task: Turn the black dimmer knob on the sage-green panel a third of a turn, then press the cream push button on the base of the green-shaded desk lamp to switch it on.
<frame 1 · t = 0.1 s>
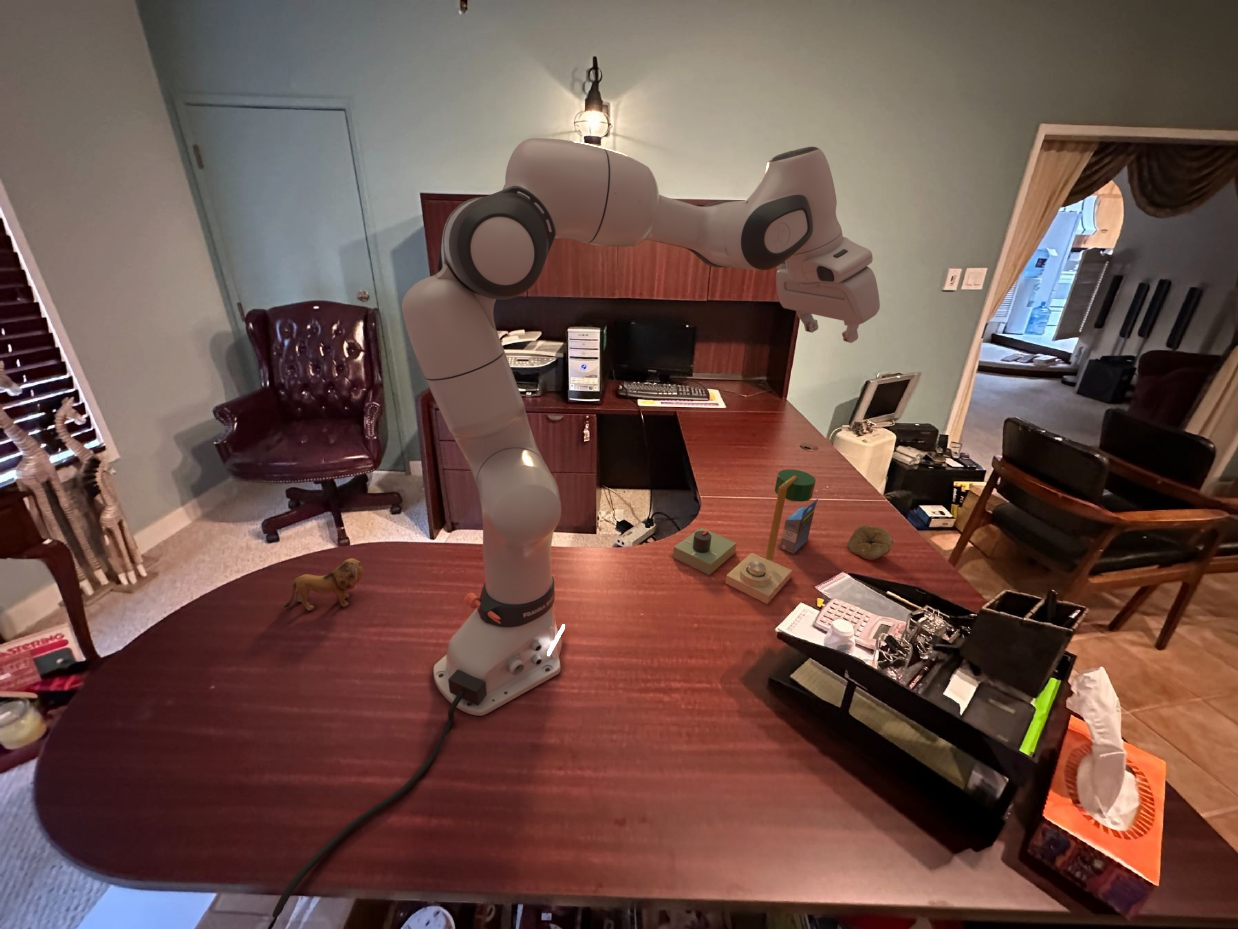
hand: (830, 335, 86), 54 cm above the table, tool tilted 30°, fingers open, 8 cm apart
lamp button: (756, 569, 106), point 4 cm above the table, slide at 0.1 cm
dimmer knob: (702, 541, 115), point 5 cm above the table, hinge at 0.0°
lamp: (785, 514, 111), point 13 cm above the table
blue box: (793, 545, 124), on the table
lamp base: (758, 580, 110), on the table
dimmer panel: (704, 555, 118), on the table
fossil: (866, 554, 122), on the table
lion figurine: (331, 601, 98), on the table
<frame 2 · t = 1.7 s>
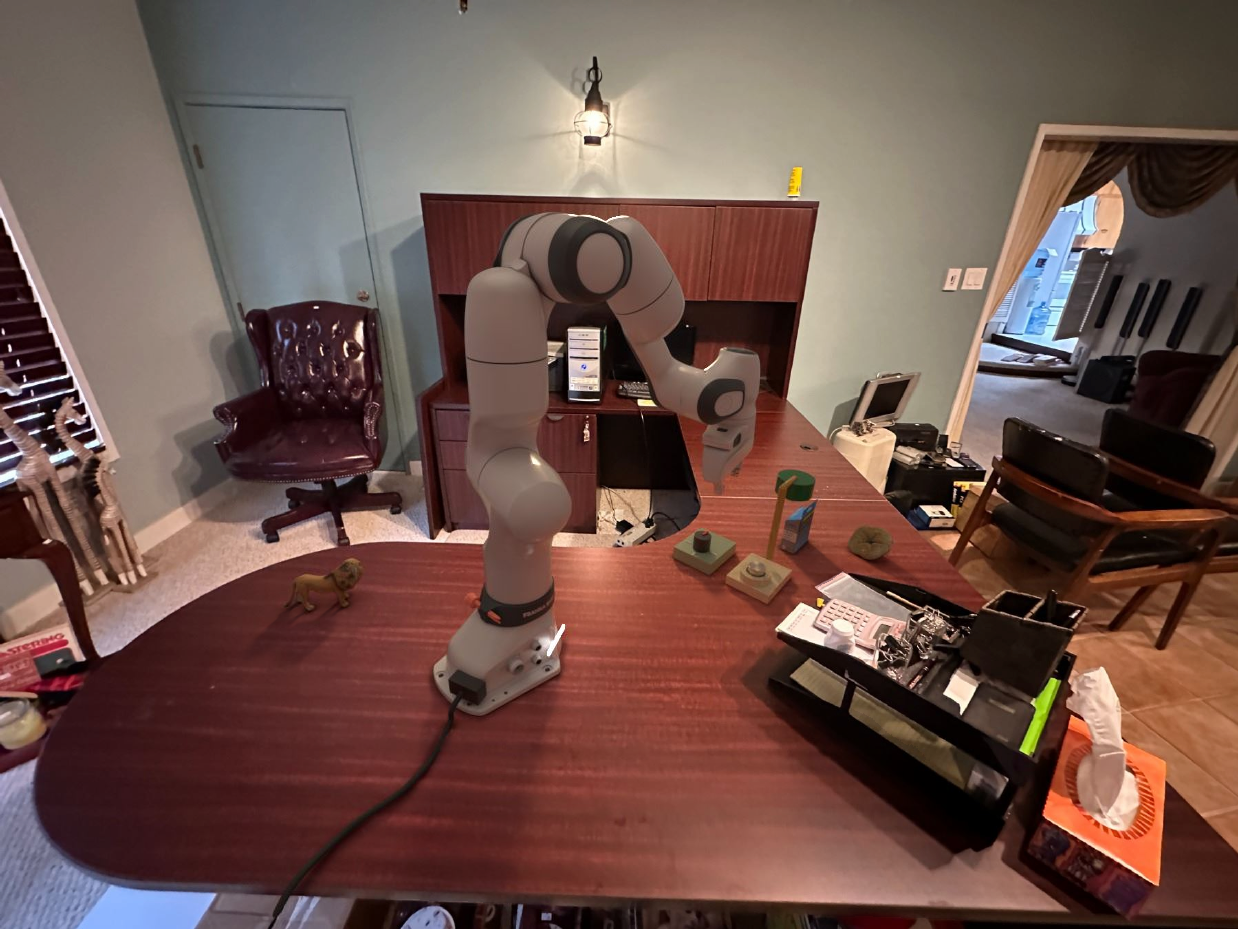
hand: (727, 483, 108), 20 cm above the table, tool pointing down, fingers open, 8 cm apart
nothing on the table moved.
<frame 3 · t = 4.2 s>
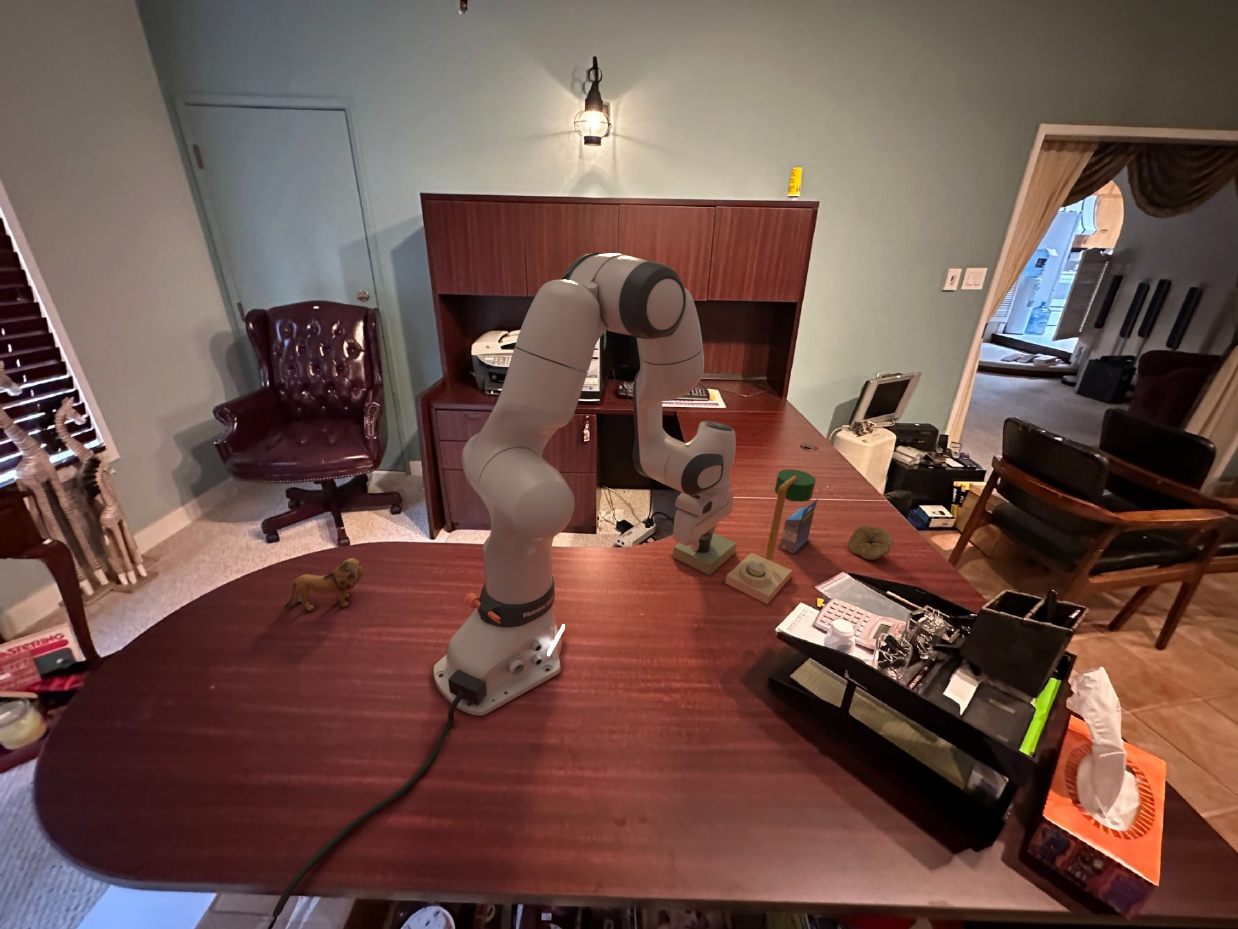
hand: (701, 544, 115), 4 cm above the table, tool pointing down, fingers closed on dimmer knob, 4 cm apart
dimmer knob: (702, 541, 115), point 5 cm above the table, hinge at 0.0°, touching gripper
everything else where it was.
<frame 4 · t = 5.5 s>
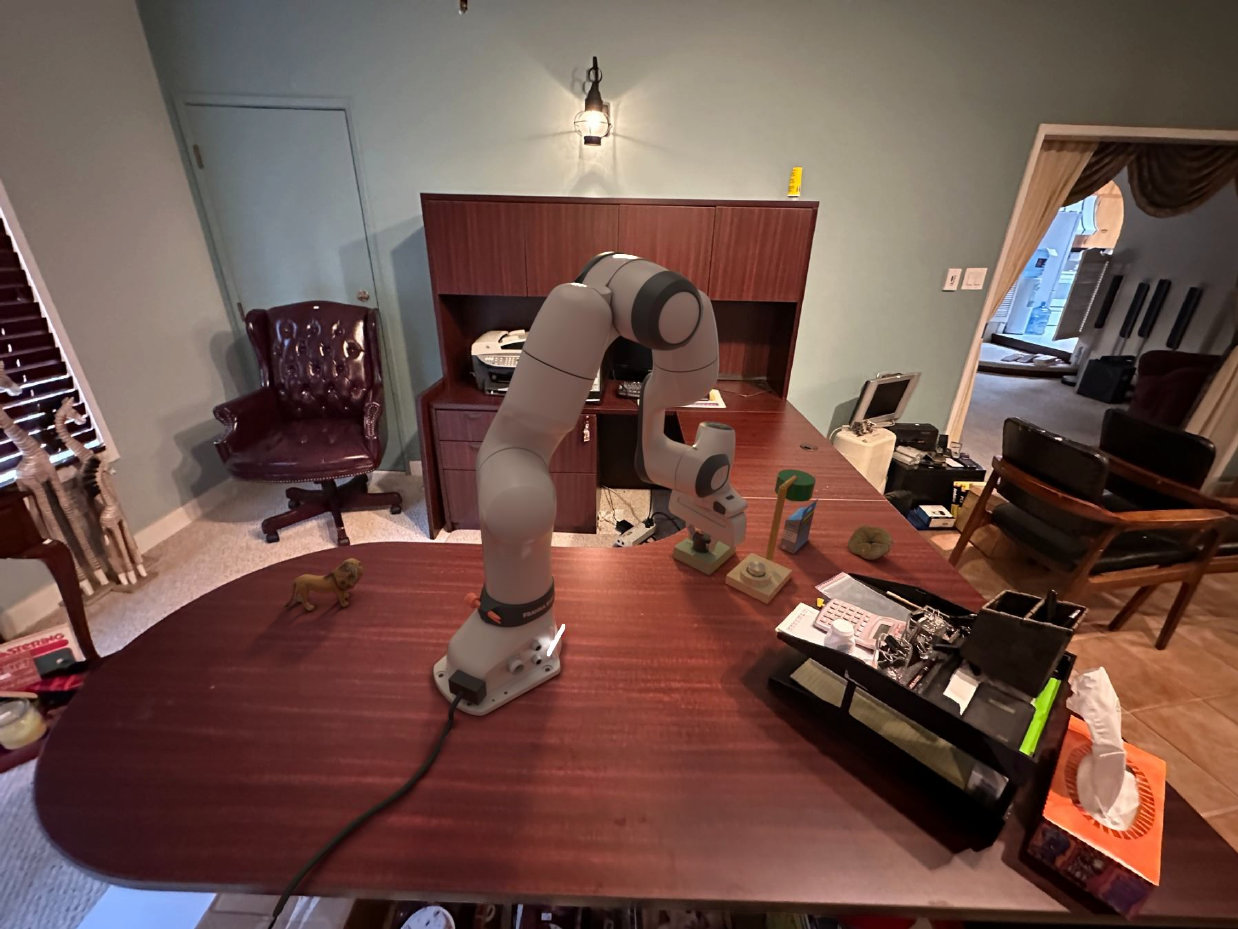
hand: (701, 544, 115), 4 cm above the table, tool pointing down, fingers closed on dimmer knob, 4 cm apart
dimmer knob: (702, 541, 115), point 5 cm above the table, hinge at 75.0°, touching gripper
everything else where it was.
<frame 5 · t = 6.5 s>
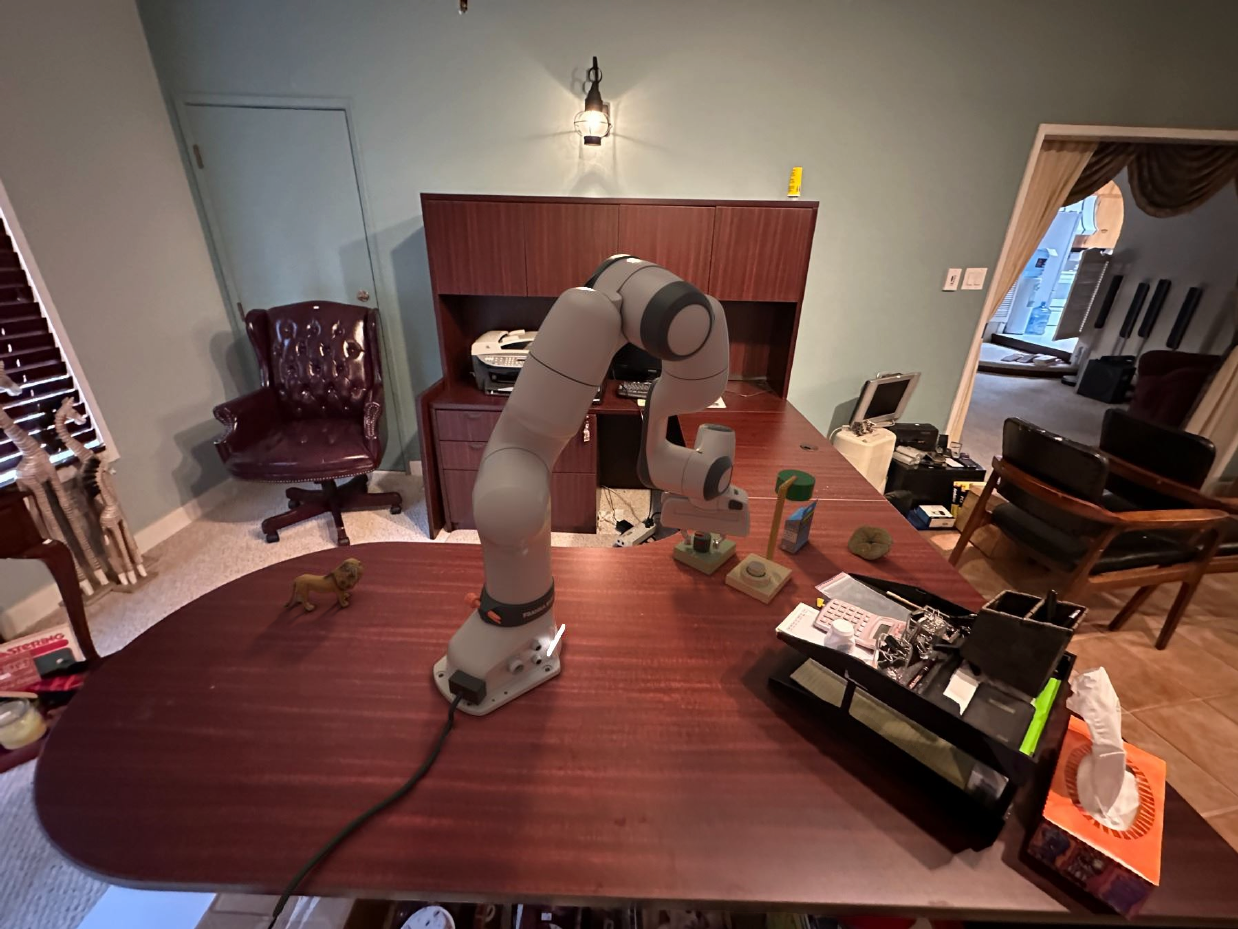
hand: (701, 545, 115), 4 cm above the table, tool pointing down, fingers open, 5 cm apart
dimmer knob: (702, 541, 115), point 5 cm above the table, hinge at 112.9°
everything else where it was.
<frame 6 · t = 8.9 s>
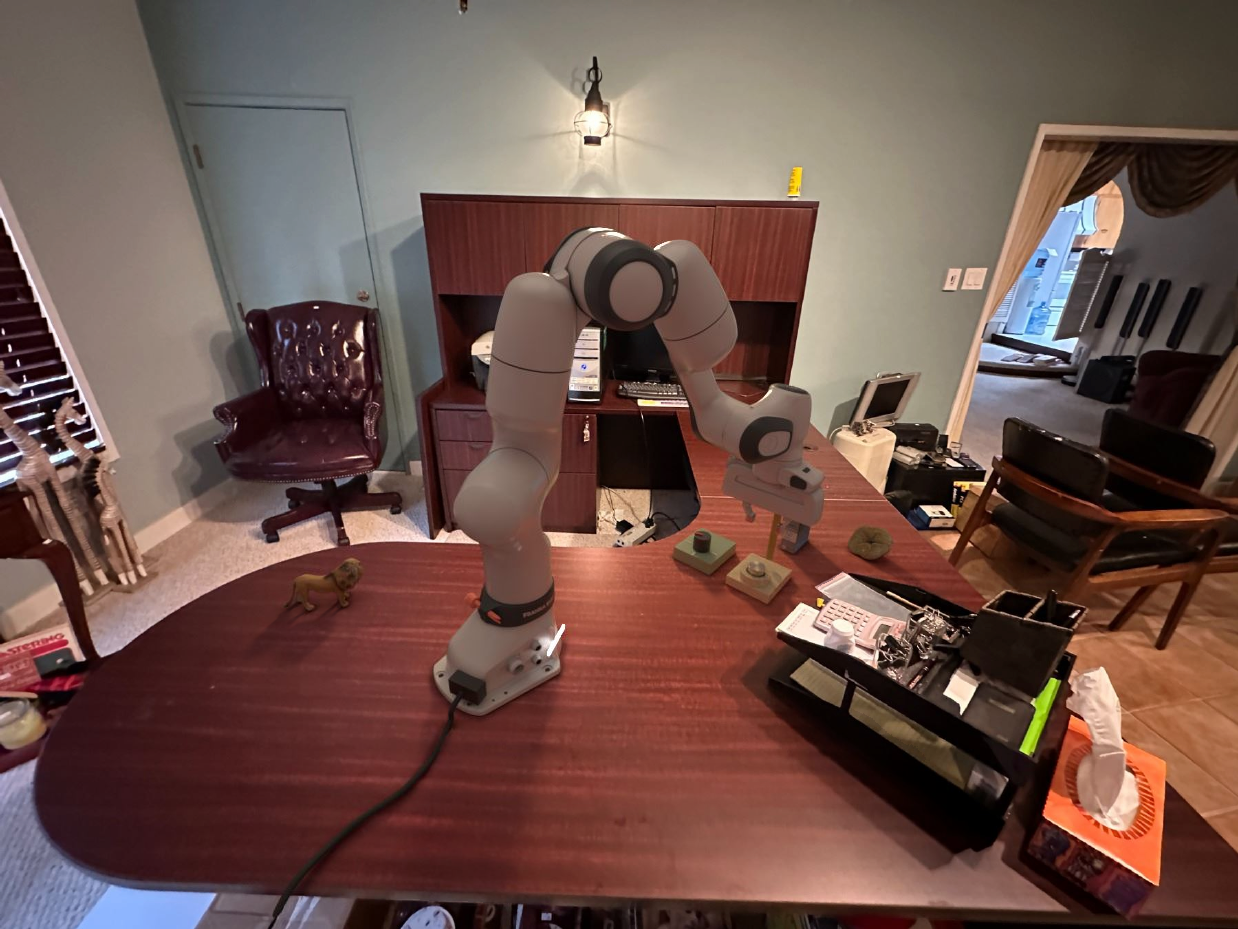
hand: (764, 526, 102), 15 cm above the table, tool pointing down, fingers open, 5 cm apart
nothing on the table moved.
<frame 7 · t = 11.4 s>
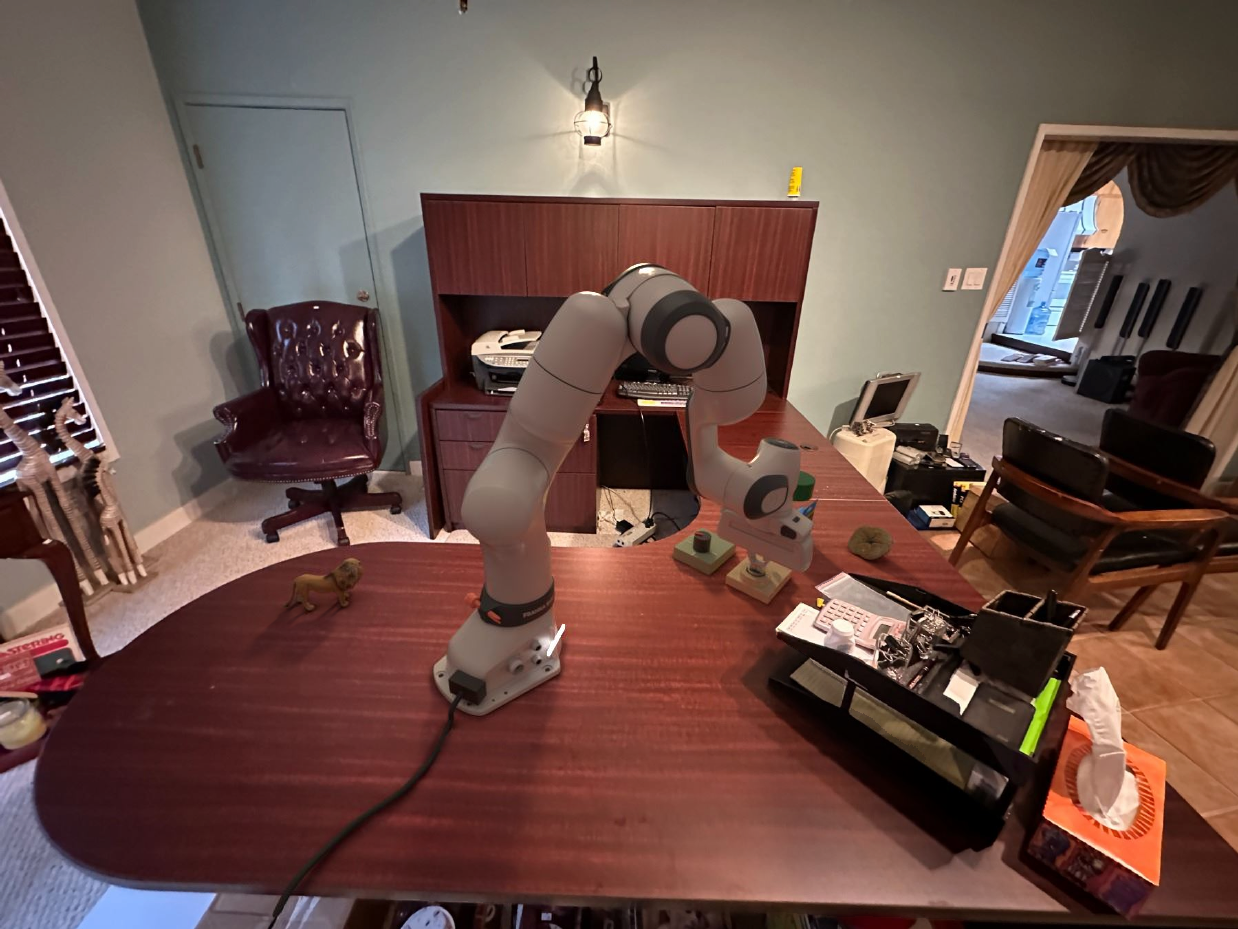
hand: (757, 569, 106), 4 cm above the table, tool pointing down, fingers closed, pressing on lamp button
lamp button: (755, 572, 107), point 4 cm above the table, slide at -0.8 cm, touching gripper
everything else where it was.
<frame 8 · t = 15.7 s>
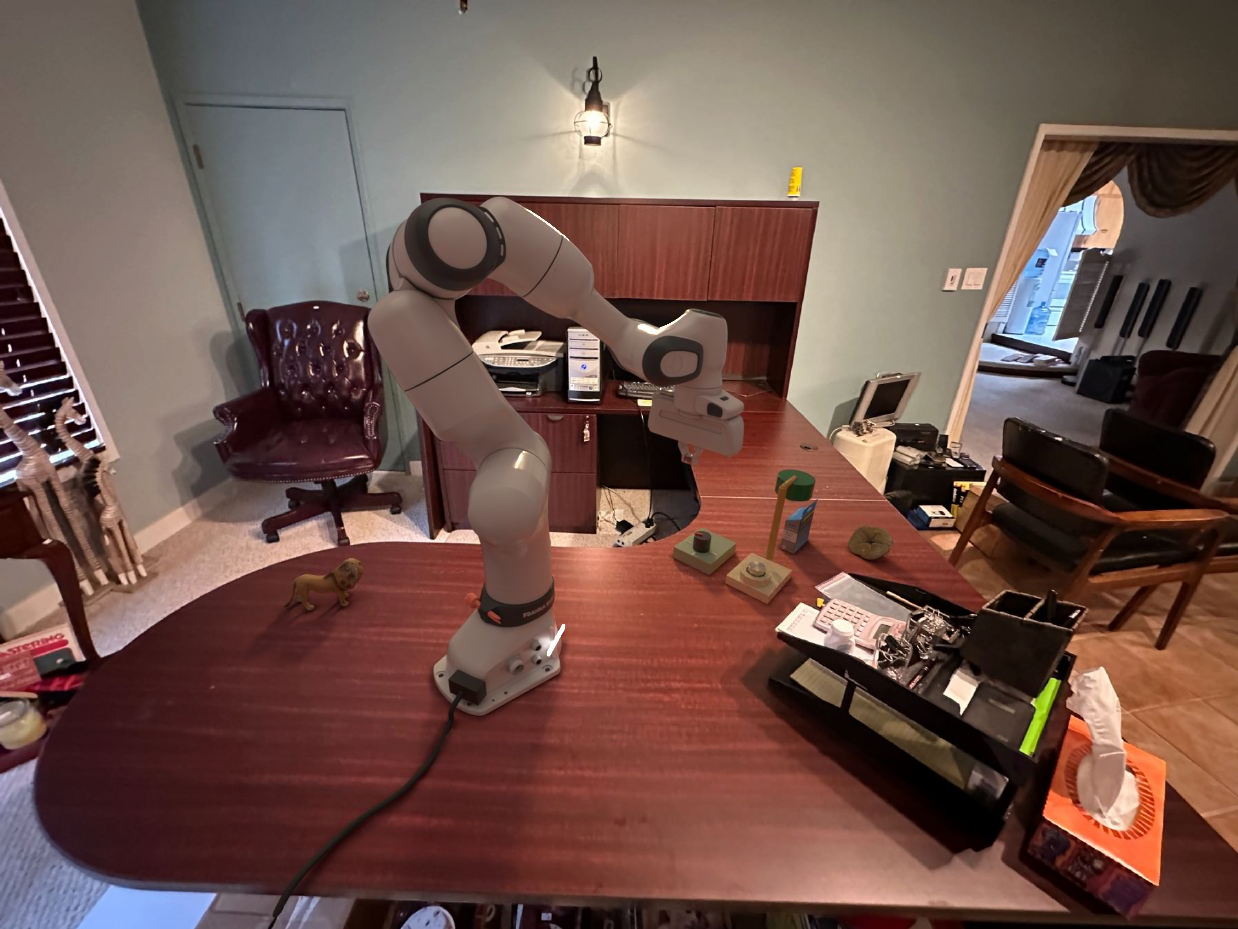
hand: (689, 463, 100), 27 cm above the table, tool pointing down, fingers closed
lamp button: (756, 569, 106), point 4 cm above the table, slide at 0.1 cm
everything else where it was.
at the end: dimmer knob at +113° (first picture: +0°); lamp button pushed in 1.1 cm at the most during the clip, back to where it started at the end; lamp button slide at 0.1 cm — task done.
